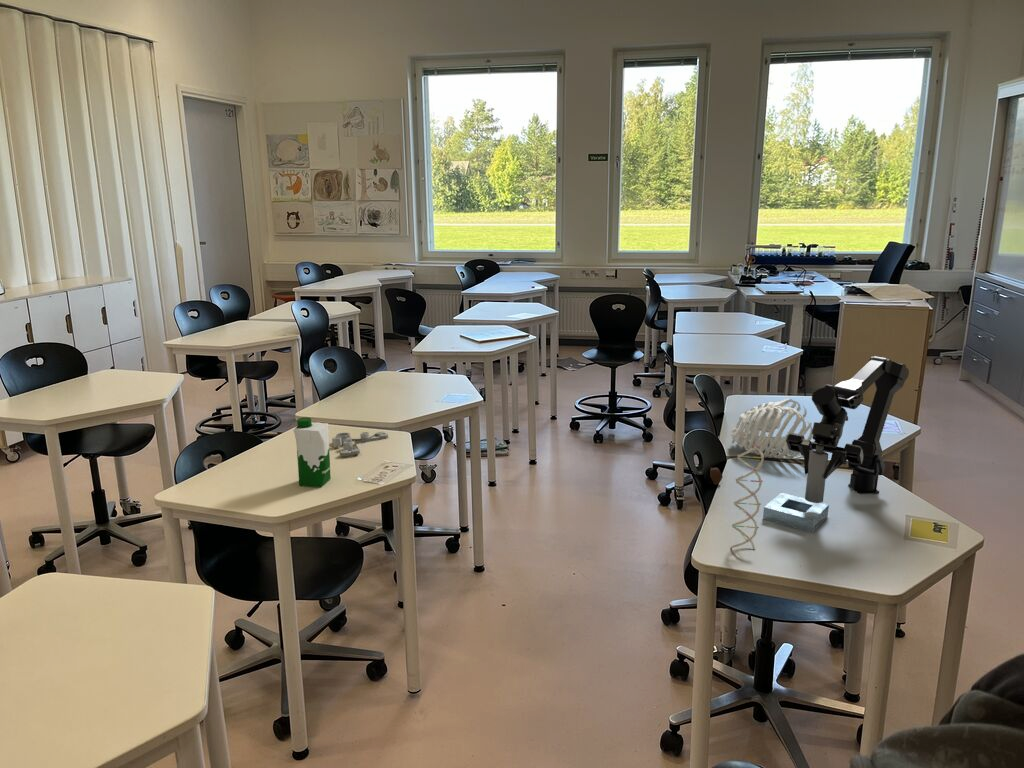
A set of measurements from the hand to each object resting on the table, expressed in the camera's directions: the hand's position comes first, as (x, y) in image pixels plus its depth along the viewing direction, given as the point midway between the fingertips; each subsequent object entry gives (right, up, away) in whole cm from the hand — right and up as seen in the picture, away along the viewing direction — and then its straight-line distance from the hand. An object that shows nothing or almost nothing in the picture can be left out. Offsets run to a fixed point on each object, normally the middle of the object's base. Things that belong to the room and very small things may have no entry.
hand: (815, 476), depth 191 cm
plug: (+1, -7, +3) cm, 7 cm away
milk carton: (-139, -6, +31) cm, 143 cm away
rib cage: (+10, +1, +59) cm, 60 cm away
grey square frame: (-2, -12, +7) cm, 14 cm away
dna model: (-22, -17, -11) cm, 30 cm away
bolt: (-19, -5, +37) cm, 42 cm away
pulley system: (-135, +2, +66) cm, 150 cm away
